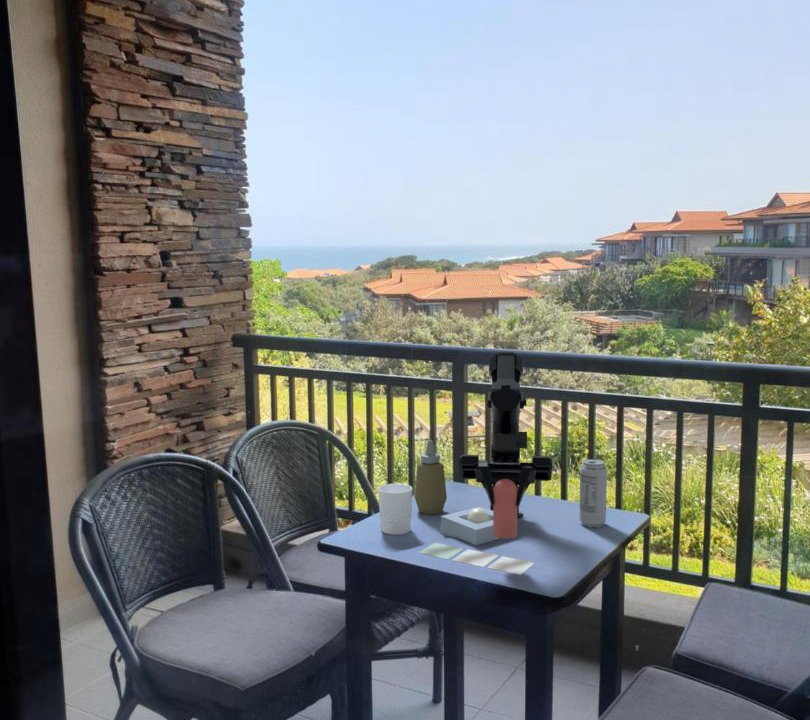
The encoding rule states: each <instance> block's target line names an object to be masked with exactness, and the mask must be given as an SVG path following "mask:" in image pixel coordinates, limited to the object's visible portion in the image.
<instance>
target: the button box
mask: <svg viewBox="0 0 810 720" xmlns="http://www.w3.org/2000/svg"><path fill="white" fill-rule="evenodd" d="M476 508H480V509H483V510H485V511H486V512H487V513H488V515H489V521H487V522H484V523H480V524H475V523H473V522H470V521H467V517H468V514H469V513H470V511H472V510H473V509H476ZM440 534H443V535H444V534H445V536H446V537H449V536H450V537H449V538H458V539H460V540H462V541H465V542H467V543H469V544H472V545H474V546H478V545H482V544H485V543H489V542H492V541H496V540H499V539H501V538H498V537H495V536H494V535H493V511H492V510H490V508H486V507H483V506H477V507H476V506H475V507H473V508H468V509H464V510H461V511H456V512H452V513H448V514H444V515H440Z"/></svg>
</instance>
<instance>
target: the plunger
mask: <svg viewBox="0 0 810 720" xmlns="http://www.w3.org/2000/svg"><path fill="white" fill-rule="evenodd" d="M467 521H470V522H473V523H475V524H480V523H484V522H487V521H489V515H488V513H487V512H486V511H485V510H483V509H480V508H476V509H473V510H472V511H470V513H469V514H468V517H467Z"/></svg>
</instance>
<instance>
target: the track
mask: <svg viewBox="0 0 810 720" xmlns="http://www.w3.org/2000/svg"><path fill="white" fill-rule="evenodd" d="M463 550H464V551H463ZM462 551H463V552H462ZM460 552H461V554H459V555H457V554H458V553H460ZM418 554H422V555H426V556H430V557H434V558H440V559H443V560H449V559H452V557H454V556H456V555H457V556H456V557H454V558H453V559H452V561H454V562H459V563H464V564H467V565H471V566H472V565H473V566H475V567H476V566H477V567H480V568H481V567H482V568H484V567H486V566H487V565H488V564H489V563H491V562H492V561H493V560H495V559H496V558H498V557H499V555H498V554H492V553H490V552H488V553H487V552H483V551H478V550H474V549H469V548H468V549H465V548H463V547H458V546H453V545H450V544H443V543H439V542H435V541H432V542H431V544H430V545H429V546H427V547H426V548H423V549H422V550H421V551H418ZM533 565H535V562H532V561H527V560H523V559H519V558H518V559H517V558H514V557H513V558H512V557H508V556H503V555H502V556H500V558H498V559H497V560H495V561H494V562H493V563H491V564H490V565H489V566H488V567H486V568H487V569H492V570H496V571H501V572H504V573H511V574H514V575H518V576H521V575H522V574H524V573H525V572H526V571H527V570H529V569H530V568H531V567H532V566H533Z"/></svg>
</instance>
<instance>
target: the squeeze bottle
mask: <svg viewBox="0 0 810 720" xmlns="http://www.w3.org/2000/svg"><path fill="white" fill-rule="evenodd" d="M440 461H441V456H440V454H439V453H437V452H436V450H435V445H434V441H433V440H432V439H428V440H427V444H426V447H425V452H424V453H422V454H421V455H420V462H419V463H418V464H417V466H416V476H415V486H414V487H415V488H414V495H413V496H414V500H415V502H416V503H415V504H416V505H417V508H418V509H417V510H418V512H419V513H421V514H423V515H424V514H425V515H438V514H441V513H442V512H443V511H444V507H445V504H446V502H447V498H448V496H447V486H446V477H445V476H446V475H445V467H444V464H443V463H442V462H440Z"/></svg>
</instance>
